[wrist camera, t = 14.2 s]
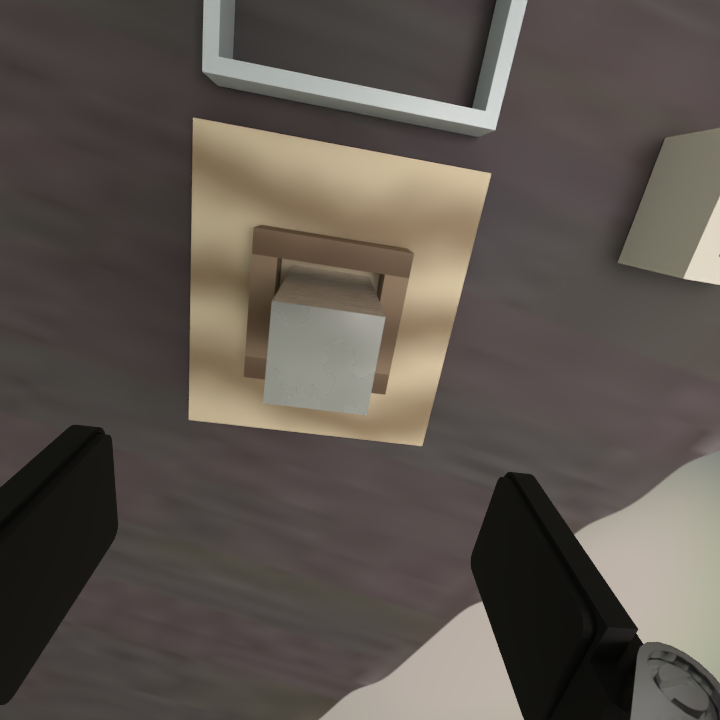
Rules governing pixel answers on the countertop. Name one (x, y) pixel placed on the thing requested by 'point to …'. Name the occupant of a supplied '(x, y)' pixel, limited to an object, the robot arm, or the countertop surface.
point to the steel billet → (323, 341)
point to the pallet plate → (323, 251)
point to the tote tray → (360, 97)
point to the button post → (680, 211)
